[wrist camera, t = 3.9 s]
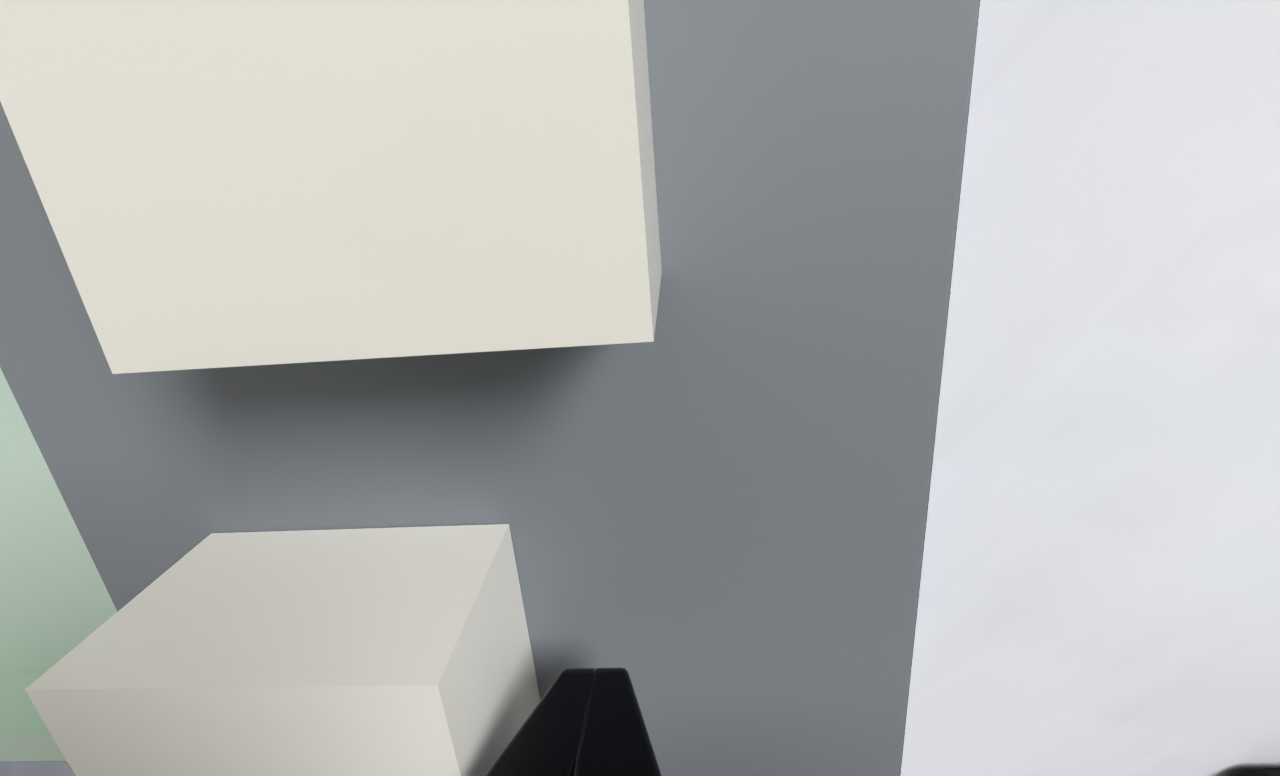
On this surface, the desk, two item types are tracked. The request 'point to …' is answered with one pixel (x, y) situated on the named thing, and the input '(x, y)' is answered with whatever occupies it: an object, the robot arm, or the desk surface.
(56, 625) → the box
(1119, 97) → the desk surface
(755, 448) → the gray rectangular block
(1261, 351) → the desk surface
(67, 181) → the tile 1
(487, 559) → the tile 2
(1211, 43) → the desk surface
